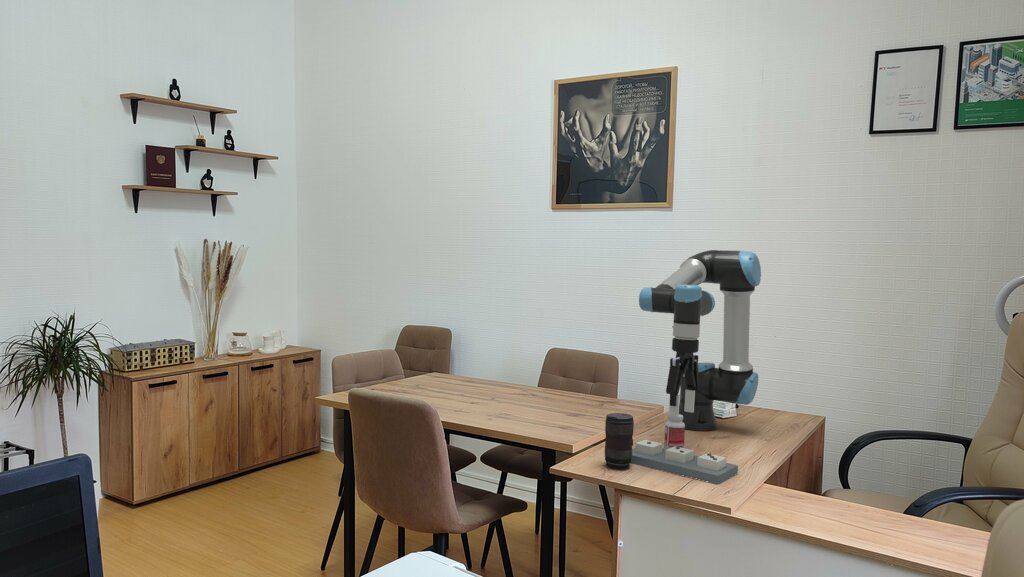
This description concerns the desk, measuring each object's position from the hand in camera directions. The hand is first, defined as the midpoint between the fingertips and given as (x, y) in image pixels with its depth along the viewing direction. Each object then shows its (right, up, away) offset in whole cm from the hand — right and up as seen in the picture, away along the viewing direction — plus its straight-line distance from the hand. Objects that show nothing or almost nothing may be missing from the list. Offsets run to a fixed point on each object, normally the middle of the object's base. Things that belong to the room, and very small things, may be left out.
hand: (681, 414), depth 211 cm
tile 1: (-8, -13, +7) cm, 17 cm away
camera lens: (-19, -15, -1) cm, 24 cm away
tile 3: (+7, -15, -6) cm, 17 cm away
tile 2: (-1, -14, +1) cm, 14 cm away
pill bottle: (+2, -15, +20) cm, 25 cm away
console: (-1, -16, +1) cm, 16 cm away
